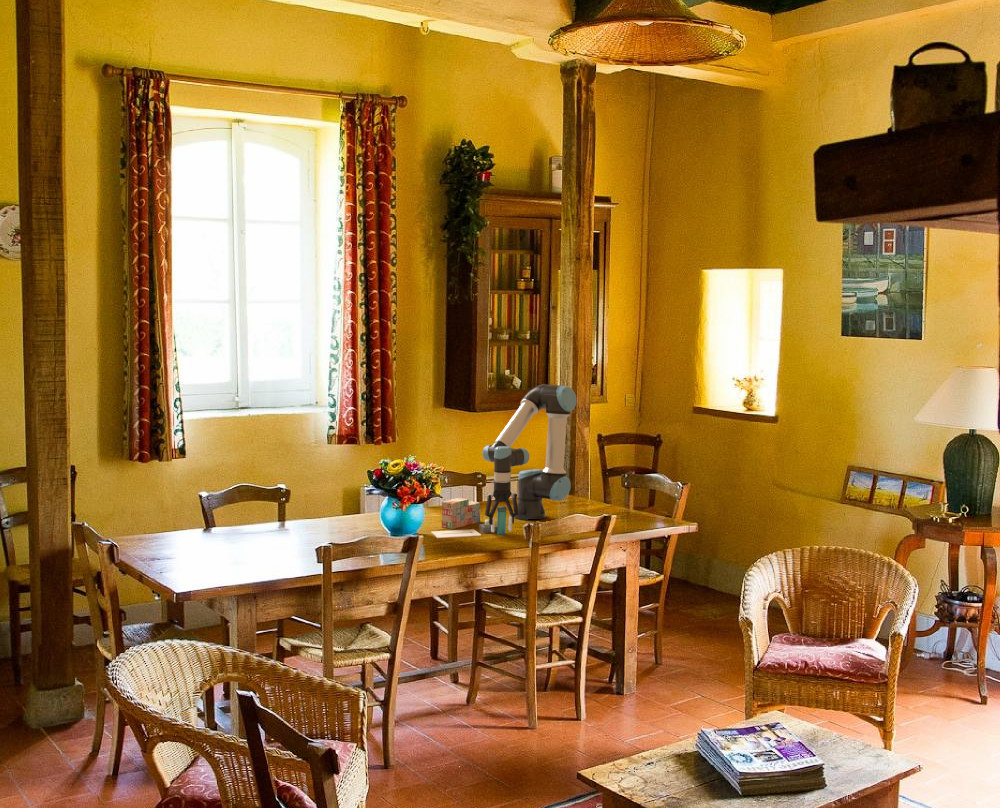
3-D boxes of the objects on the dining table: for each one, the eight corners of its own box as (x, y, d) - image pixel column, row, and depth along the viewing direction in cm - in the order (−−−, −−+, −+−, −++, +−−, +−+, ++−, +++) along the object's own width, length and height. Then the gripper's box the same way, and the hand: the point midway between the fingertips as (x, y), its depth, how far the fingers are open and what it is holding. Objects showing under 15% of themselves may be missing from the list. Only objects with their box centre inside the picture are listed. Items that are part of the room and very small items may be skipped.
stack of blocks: (469, 520, 527) (470, 494, 526) (480, 522, 523) (480, 496, 522) (441, 527, 510) (441, 501, 508) (451, 529, 506) (452, 502, 505)
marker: (504, 532, 501) (504, 506, 499) (507, 534, 497) (507, 508, 496) (495, 533, 500) (496, 506, 498) (498, 535, 496) (498, 508, 494)
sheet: (473, 530, 505) (473, 529, 505) (481, 535, 493) (481, 534, 493) (431, 532, 499) (431, 531, 499) (437, 538, 487) (437, 537, 487)
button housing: (493, 528, 508) (493, 523, 508) (498, 532, 501) (498, 526, 501) (478, 529, 506) (478, 524, 506) (483, 532, 499) (483, 527, 499)
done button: (490, 526, 506) (491, 519, 505) (493, 528, 502) (493, 520, 502) (483, 527, 505) (483, 519, 504) (485, 528, 501) (486, 521, 501)
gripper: (521, 478, 502) (520, 528, 505) (478, 480, 496) (477, 530, 499) (526, 481, 495) (525, 531, 498) (482, 483, 489) (481, 534, 491)
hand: (501, 531), depth 498 cm, fingers open, 8 cm apart
